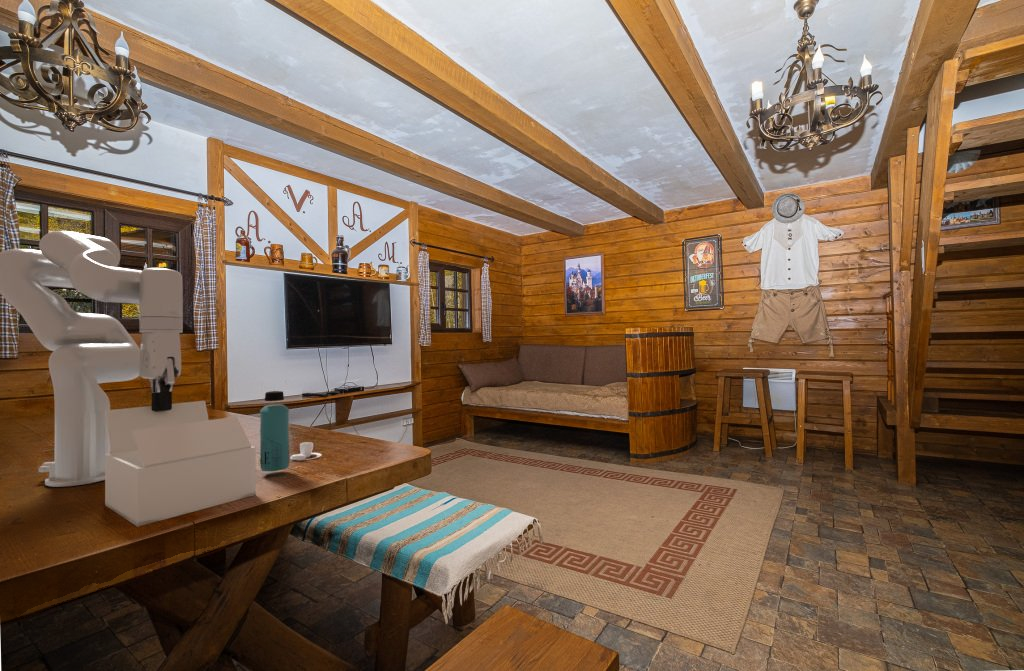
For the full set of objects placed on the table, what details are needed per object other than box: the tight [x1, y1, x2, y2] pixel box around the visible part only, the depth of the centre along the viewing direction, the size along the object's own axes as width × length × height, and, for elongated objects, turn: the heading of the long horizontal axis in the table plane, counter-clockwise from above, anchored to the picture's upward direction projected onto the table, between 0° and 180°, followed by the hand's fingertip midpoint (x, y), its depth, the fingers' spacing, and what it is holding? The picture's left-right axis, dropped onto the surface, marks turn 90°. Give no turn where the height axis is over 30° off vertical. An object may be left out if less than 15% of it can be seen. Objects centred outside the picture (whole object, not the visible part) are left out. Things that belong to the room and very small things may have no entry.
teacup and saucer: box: [289, 441, 323, 461], centre depth 129 cm, size 9×8×4 cm
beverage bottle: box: [259, 390, 291, 472], centre depth 112 cm, size 6×7×20 cm
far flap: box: [105, 400, 210, 454], centre depth 101 cm, size 18×9×1 cm
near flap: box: [132, 416, 252, 468], centre depth 91 cm, size 18×8×1 cm
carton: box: [104, 445, 257, 528], centre depth 94 cm, size 20×18×10 cm
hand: (161, 410), depth 101 cm, fingers closed
